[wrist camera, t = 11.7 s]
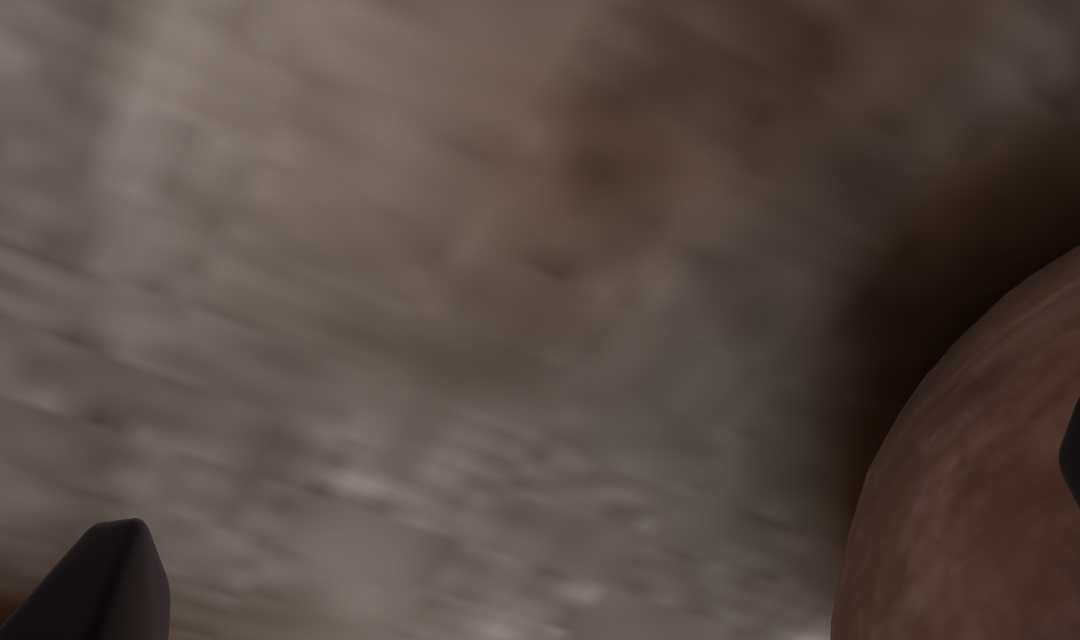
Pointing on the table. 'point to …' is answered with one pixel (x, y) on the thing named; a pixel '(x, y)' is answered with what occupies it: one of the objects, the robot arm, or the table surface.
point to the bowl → (977, 486)
